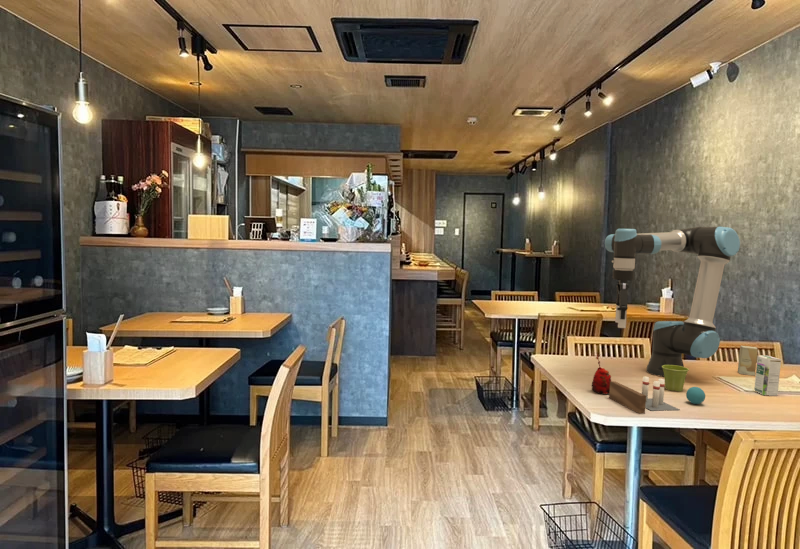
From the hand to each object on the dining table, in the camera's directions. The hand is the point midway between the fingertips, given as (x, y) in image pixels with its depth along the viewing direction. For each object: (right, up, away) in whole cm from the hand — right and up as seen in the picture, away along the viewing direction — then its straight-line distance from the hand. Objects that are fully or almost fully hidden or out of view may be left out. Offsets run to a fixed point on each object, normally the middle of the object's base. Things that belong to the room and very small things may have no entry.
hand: (620, 325), depth 213 cm
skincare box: (+70, -25, +36) cm, 83 cm away
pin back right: (+2, -26, -15) cm, 30 cm away
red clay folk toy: (-9, -25, -4) cm, 27 cm away
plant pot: (+22, -26, +4) cm, 34 cm away
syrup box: (+57, -27, +3) cm, 63 cm away
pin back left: (+4, -26, -21) cm, 34 cm away
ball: (+21, -24, -15) cm, 35 cm away
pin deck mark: (+5, -26, -18) cm, 32 cm away
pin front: (+7, -26, -17) cm, 32 cm away
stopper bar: (-6, -26, -20) cm, 33 cm away
